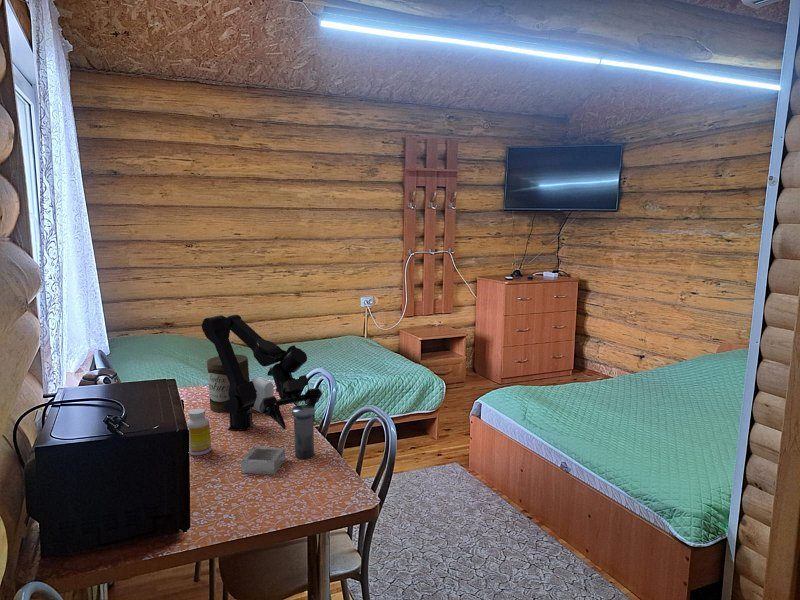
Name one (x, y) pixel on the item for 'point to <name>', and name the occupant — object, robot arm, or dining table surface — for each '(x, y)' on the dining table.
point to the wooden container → (222, 381)
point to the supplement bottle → (199, 432)
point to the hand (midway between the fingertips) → (299, 425)
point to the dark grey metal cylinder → (304, 431)
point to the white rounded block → (262, 390)
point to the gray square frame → (263, 460)
